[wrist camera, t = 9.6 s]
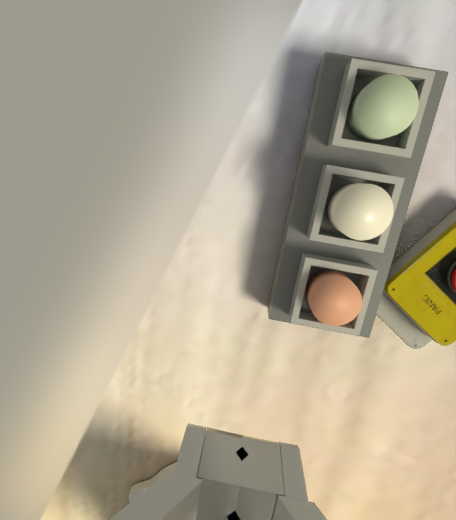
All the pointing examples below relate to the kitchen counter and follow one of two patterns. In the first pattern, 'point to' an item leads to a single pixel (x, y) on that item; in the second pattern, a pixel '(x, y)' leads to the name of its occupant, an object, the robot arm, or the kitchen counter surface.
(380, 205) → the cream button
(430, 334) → the emergency button
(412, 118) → the pale green egg
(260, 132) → the kitchen counter surface
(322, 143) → the panel
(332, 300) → the brown egg
